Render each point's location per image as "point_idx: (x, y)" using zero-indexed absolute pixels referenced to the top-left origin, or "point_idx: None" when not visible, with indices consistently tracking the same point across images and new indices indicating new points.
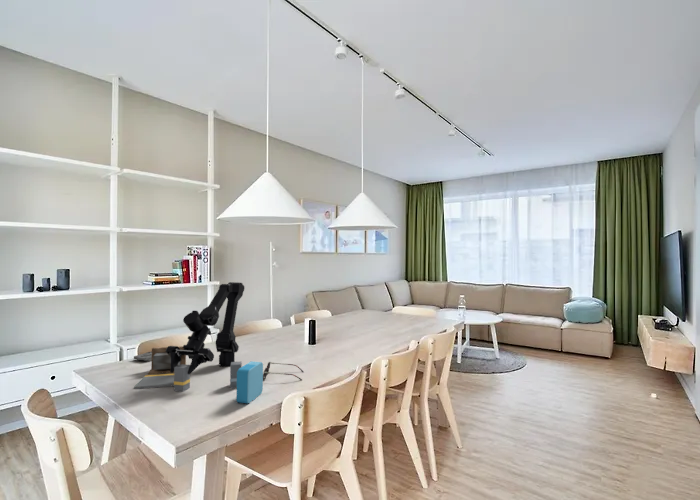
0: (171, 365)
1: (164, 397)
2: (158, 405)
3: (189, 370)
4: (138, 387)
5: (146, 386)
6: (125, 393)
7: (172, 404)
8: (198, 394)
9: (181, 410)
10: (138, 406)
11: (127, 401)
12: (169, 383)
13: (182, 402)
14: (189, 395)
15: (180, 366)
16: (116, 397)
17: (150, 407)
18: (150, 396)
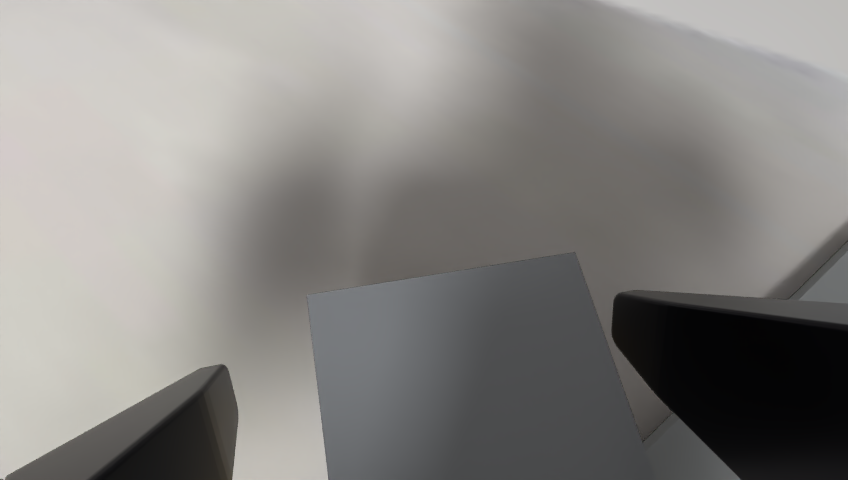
0: (744, 303)
1: (394, 191)
2: (293, 59)
3: (170, 386)
4: (840, 252)
5: (803, 293)
6: (783, 140)
7: (186, 105)
8: (73, 403)
9: (11, 45)
10: (426, 9)
11: (591, 44)
12: (690, 478)
13: (119, 164)
14: (172, 330)
15: (494, 362)
16: (742, 68)
17: (323, 19)
18: (536, 165)
